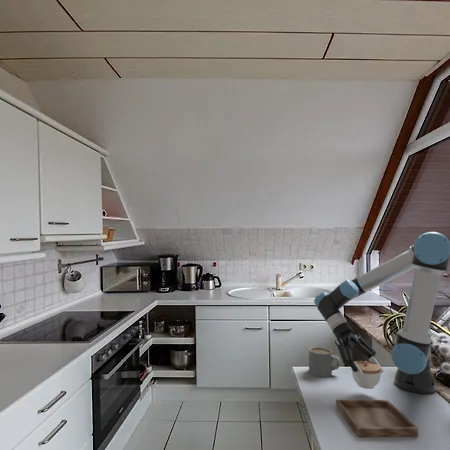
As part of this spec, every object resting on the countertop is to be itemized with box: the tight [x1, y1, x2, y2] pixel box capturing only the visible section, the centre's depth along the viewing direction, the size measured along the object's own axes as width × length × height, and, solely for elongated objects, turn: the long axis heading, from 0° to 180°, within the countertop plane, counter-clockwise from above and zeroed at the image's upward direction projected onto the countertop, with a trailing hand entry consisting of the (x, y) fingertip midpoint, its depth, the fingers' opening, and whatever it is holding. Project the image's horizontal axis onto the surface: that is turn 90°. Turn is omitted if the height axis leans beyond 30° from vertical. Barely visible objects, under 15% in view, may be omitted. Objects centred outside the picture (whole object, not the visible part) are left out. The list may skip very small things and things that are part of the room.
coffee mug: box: [308, 346, 341, 378], centre depth 160 cm, size 13×10×10 cm
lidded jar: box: [351, 360, 382, 390], centre depth 139 cm, size 11×11×9 cm
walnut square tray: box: [335, 399, 419, 438], centre depth 120 cm, size 19×19×2 cm
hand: (372, 376), depth 137 cm, fingers closed on lidded jar, 11 cm apart
